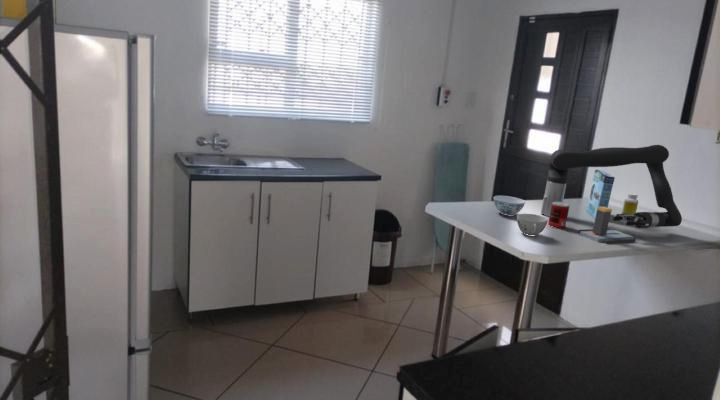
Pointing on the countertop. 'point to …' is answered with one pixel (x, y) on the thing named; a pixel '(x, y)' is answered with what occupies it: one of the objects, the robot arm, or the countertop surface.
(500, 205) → the chinaware
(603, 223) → the block
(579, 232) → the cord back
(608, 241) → the dark grey long bar
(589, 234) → the blue rectangular board
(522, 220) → the teacup
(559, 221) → the canned food
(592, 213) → the gum box
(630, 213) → the supplement bottle
